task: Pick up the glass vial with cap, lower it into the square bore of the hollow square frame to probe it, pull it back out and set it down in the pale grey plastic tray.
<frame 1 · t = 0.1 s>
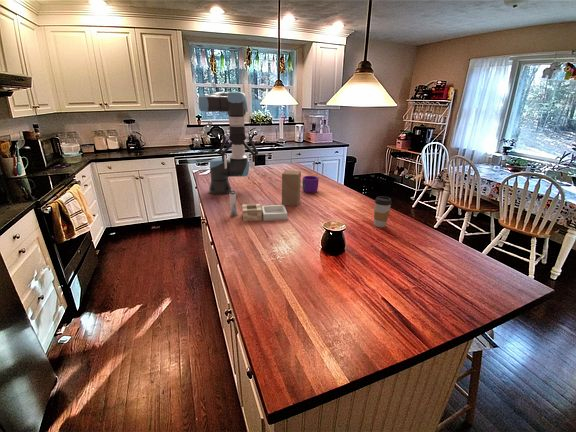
hand: (239, 168, 152), 28 cm above the table, fingers open, 13 cm apart
coffee cup: (379, 225, 155), on the table
mug: (308, 190, 212), on the table
wooden block: (290, 203, 185), on the table
glass vial with cap: (233, 215, 164), on the table
tray: (274, 215, 165), on the table
hollow square frame: (252, 217, 162), on the table
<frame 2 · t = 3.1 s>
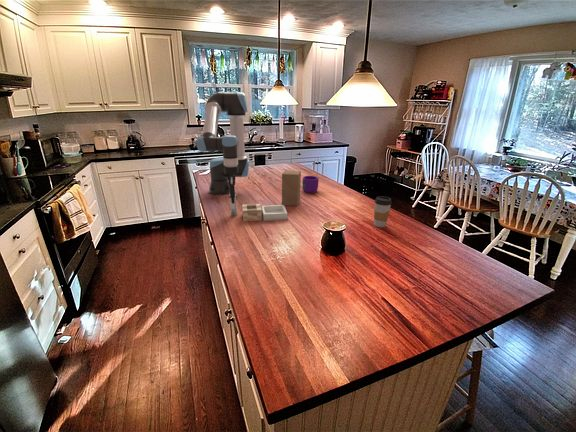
hand: (233, 206, 163), 5 cm above the table, fingers closed on glass vial with cap, 3 cm apart
glass vial with cap: (233, 215, 164), on the table, touching gripper
everything else where it was.
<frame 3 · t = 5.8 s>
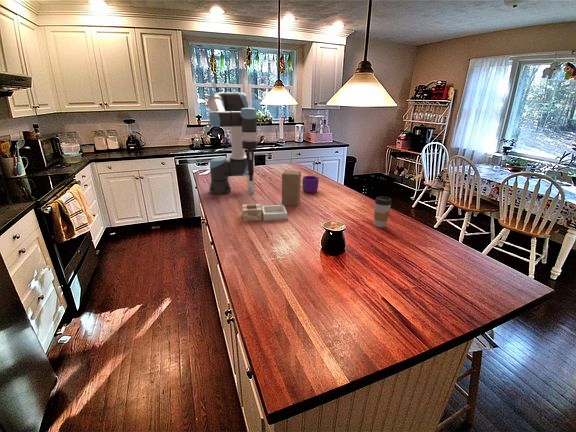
hand: (250, 185, 155), 19 cm above the table, fingers closed on glass vial with cap, 3 cm apart
glass vial with cap: (251, 194, 157), point 13 cm above the table, touching gripper
everything else where it was.
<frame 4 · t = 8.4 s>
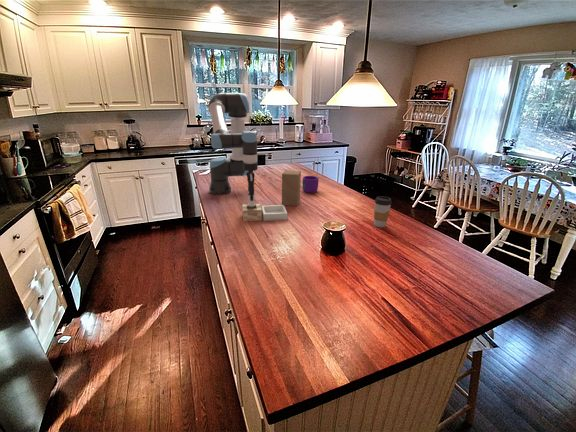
hand: (251, 204, 160), 8 cm above the table, fingers closed on glass vial with cap, 3 cm apart
glass vial with cap: (251, 213, 162), point 2 cm above the table, touching gripper
everything else where it was.
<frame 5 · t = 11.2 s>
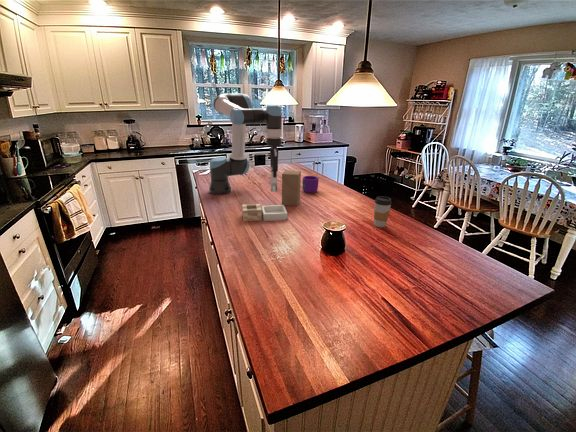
hand: (274, 181, 157), 20 cm above the table, fingers closed on glass vial with cap, 3 cm apart
glass vial with cap: (274, 191, 159), point 15 cm above the table, touching gripper
everything else where it was.
when the fingers open (7 cm above the table, at t = 13.6 s): glass vial with cap stays where it is, resting on tray.
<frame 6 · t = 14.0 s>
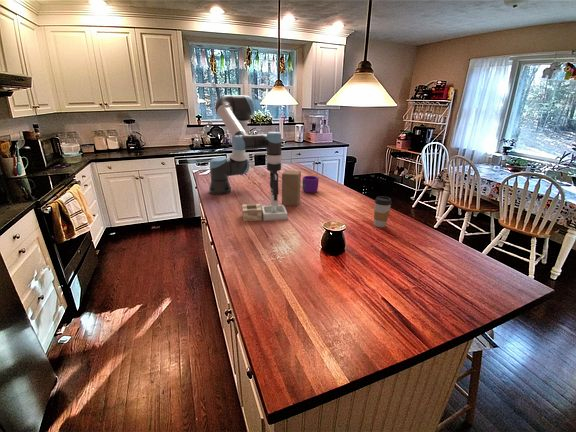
hand: (274, 202, 162), 8 cm above the table, fingers open, 9 cm apart
glass vial with cap: (274, 214, 164), point 1 cm above the table, touching tray
everything else where it was.
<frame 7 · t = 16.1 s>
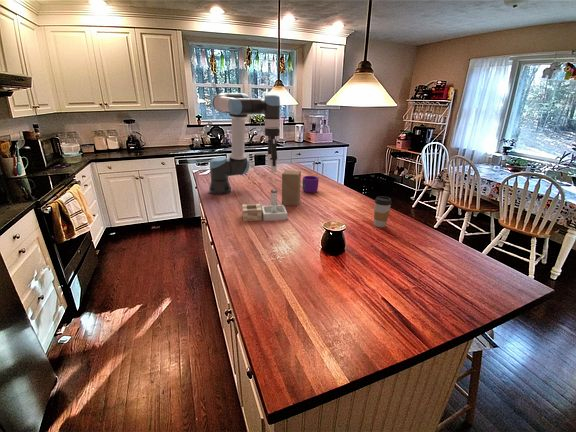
hand: (272, 168, 156), 27 cm above the table, fingers open, 13 cm apart
nothing on the table moved.
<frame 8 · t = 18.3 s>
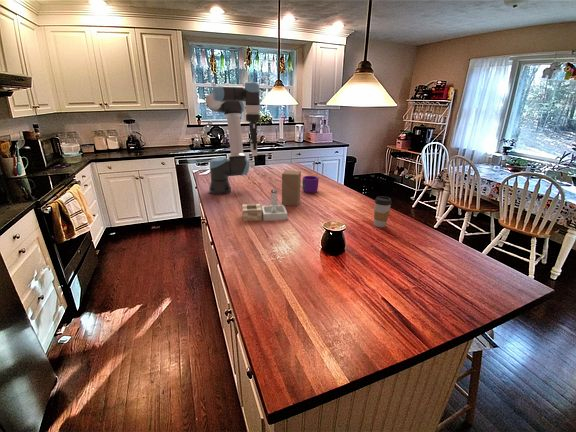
hand: (253, 153, 164), 33 cm above the table, fingers open, 13 cm apart
nothing on the table moved.
at the end: glass vial with cap inside the target area on the tray (0.1 cm from its centre), point 1.0 cm above the tray's base; the gripper is holding nothing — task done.
